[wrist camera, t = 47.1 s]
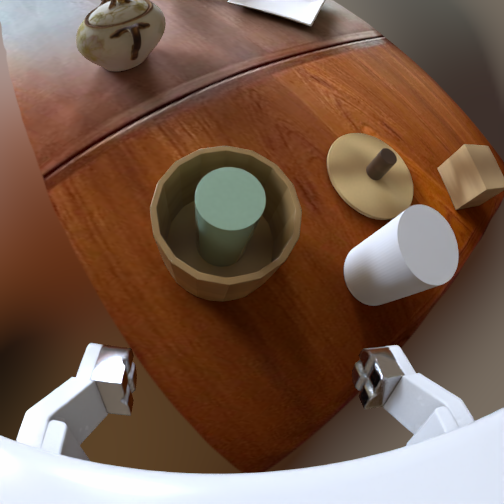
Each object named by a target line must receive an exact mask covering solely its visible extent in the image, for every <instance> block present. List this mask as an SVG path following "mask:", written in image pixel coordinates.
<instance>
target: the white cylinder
mask: <svg viewBox="0 0 504 504" xmlns="http://www.w3.org/2000/svg"><path fill="white" fill-rule="evenodd" d="M457 265H458V246H457V241H456V238H455V235H454V233H453V231H452V229H451V227H450V225H449V224H448V222H447V221H446V220H445V218H444V217H443V216H442V215H441V214H440V213H438V212H437V211H436V210H434V209H433V208H431V207H428V206H425V205H413V206H411V207H409V208H407V209H406V210H405V211H403V212H402V213H401V214H399V215H398V216H397V217H395V218H394V219H393V220H391V221H390V222H389V223H387V224H386V225H385V226H383V227H382V228H381V229H379V230H378V231H377V232H375V233H374V234H372V235H371V236H370V237H368V238H367V239H366V240H364V241H363V242H361V243H360V244H359V245H357V246H356V247H355V248H353V249H352V250H351V251H350V252H349V254H348V256H347V258H346V260H345V264H344V278H345V282H346V285H347V287H348V289H349V291H350V292H351V293H352V295H353V296H354V297H355V298H356V299H357V300H359V301H360V302H362V303H364V304H366V305H371V306H377V305H381V304H385V303H388V302H391V301H394V300H397V299H400V298H403V297H407V296H410V295H413V294H416V293H419V292H422V291H424V290H427V289H430V288H433V287H436V286H439V285H442V284H444V283H446V282H448V281H449V280H450V279H451V278H452V276H453V275H454V273H455V271H456V268H457Z"/></svg>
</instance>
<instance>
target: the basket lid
mask: <svg viewBox="0 0 504 504" xmlns="http://www.w3.org/2000/svg"><path fill="white" fill-rule="evenodd" d="M327 170H328V174H329V177H330V180H331V182H332V184H333V186H334V188H335V189H336V191H337V192H338V194H339V195H340V196H341V198H342V199H343V200H344V201H345V202H346V203H347V204H348V205H349V206H351V207H352V208H353V209H355V210H356V211H358V212H359V213H361V214H363V215H365V216H367V217H370V218H373V219H378V220H390V219H394V218H395V217H397V216H398V215H399V214H401V213H402V212H403V211H405V210H406V209H407V208H409V206H410V204H411V202H412V198H413V183H412V178H411V175H410V173H409V170H408V168H407V166H406V165H405V163H404V161H403V160H402V159H401V157H400V156H399V155H398V154H397V153H396V152H395V151H394V150H393V149H392V148H391V147H390V146H389V145H387V144H386V143H384V142H383V141H381V140H379V139H377V138H375V137H373V136H370V135H366V134H361V133H351V134H346V135H344V136H341V137H340V138H338V139H337V140H336V141H335V142H334V143H333V144H332V146H331V147H330V150H329V152H328V155H327Z"/></svg>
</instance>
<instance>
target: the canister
mask: <svg viewBox="0 0 504 504" xmlns="http://www.w3.org/2000/svg"><path fill="white" fill-rule="evenodd" d="M265 205H266V195H265V191H264V189H263V187H262V185H261V183H260V182H259V181H258V179H257V178H256V177H254V176H253V175H252V174H250V173H249V172H247V171H245V170H242V169H239V168H234V167H223V168H219V169H216V170H213V171H211V172H210V173H208V174H207V175H205V176H204V177H203V178H202V179H201V181H200V182H199V184H198V186H197V188H196V191H195V234H196V247H197V251H198V253H199V254H200V256H201V257H202V258H203V259H204V260H205V261H206V262H207V263H209V264H211V265H214V266H219V267H225V266H230V265H233V264H235V263H236V262H238V261H239V260H240V259H241V258H242V257H243V255H244V254H245V252H246V249H247V247H248V245H249V243H250V241H251V238H252V236H253V234H254V232H255V229H256V227H257V225H258V223H259V221H260V218H261V216H262V214H263V212H264V209H265Z"/></svg>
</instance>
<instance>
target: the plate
mask: <svg viewBox="0 0 504 504" xmlns="http://www.w3.org/2000/svg"><path fill="white" fill-rule="evenodd" d="M227 2H228V3H230V4H234V5H238V6H242V7H246V8H250V9H254V10H258V11H262V12H265V13H269V14H272V15H275V16H279V17H282V18H285V19H288V20H291V21H294V22H297V23H300V24H303V25H306V26H308V27H310V26H312V24H313V22H314V21H315V19H316V17H317V15H318V13H319V11H320V9H321V8H322V6H323V4H324V2H325V0H228V1H227Z"/></svg>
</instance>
